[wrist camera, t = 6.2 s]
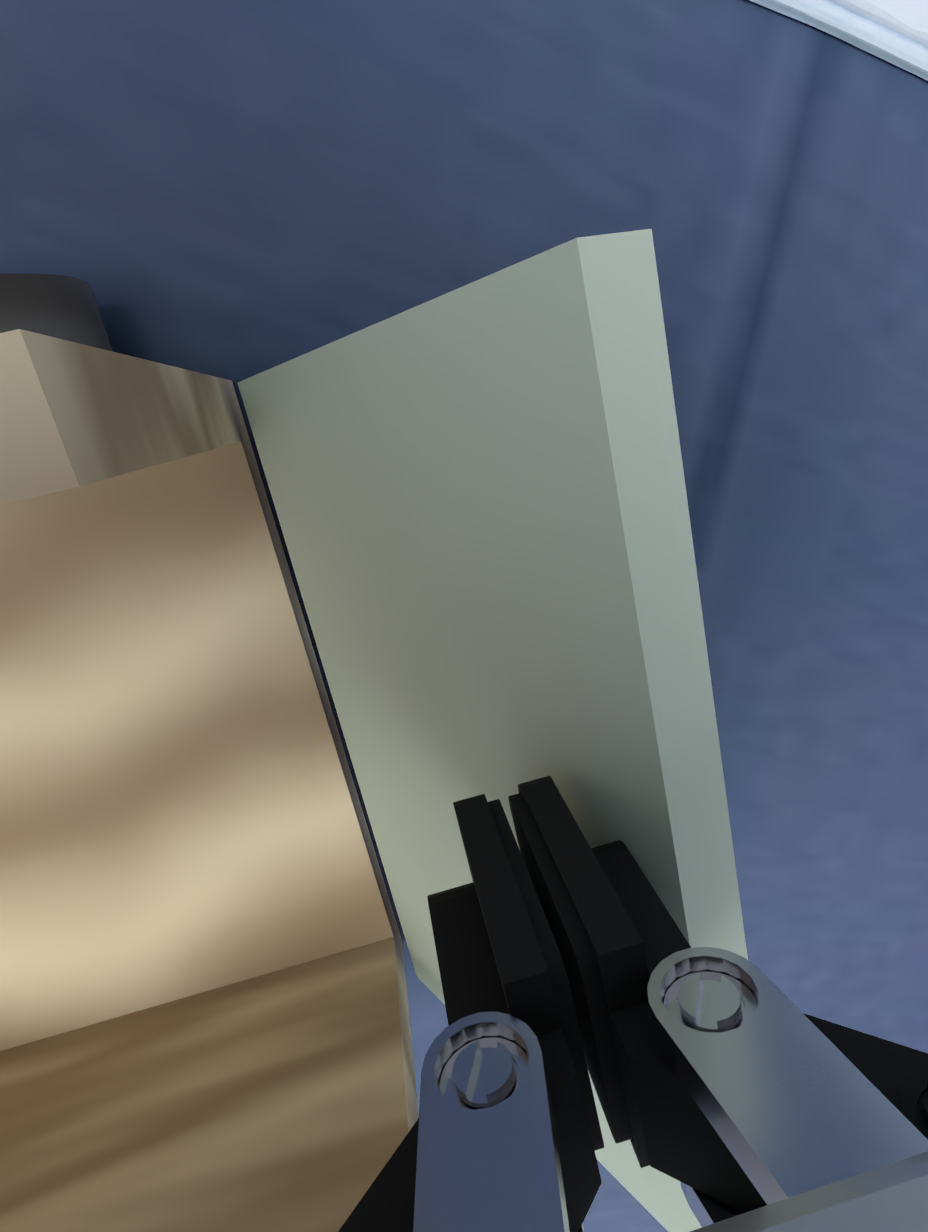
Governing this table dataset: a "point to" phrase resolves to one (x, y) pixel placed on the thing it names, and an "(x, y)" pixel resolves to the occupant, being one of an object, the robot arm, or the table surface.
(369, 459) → the panel
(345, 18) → the table surface
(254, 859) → the truck bed
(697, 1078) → the robot arm
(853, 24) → the open book
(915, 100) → the table surface
